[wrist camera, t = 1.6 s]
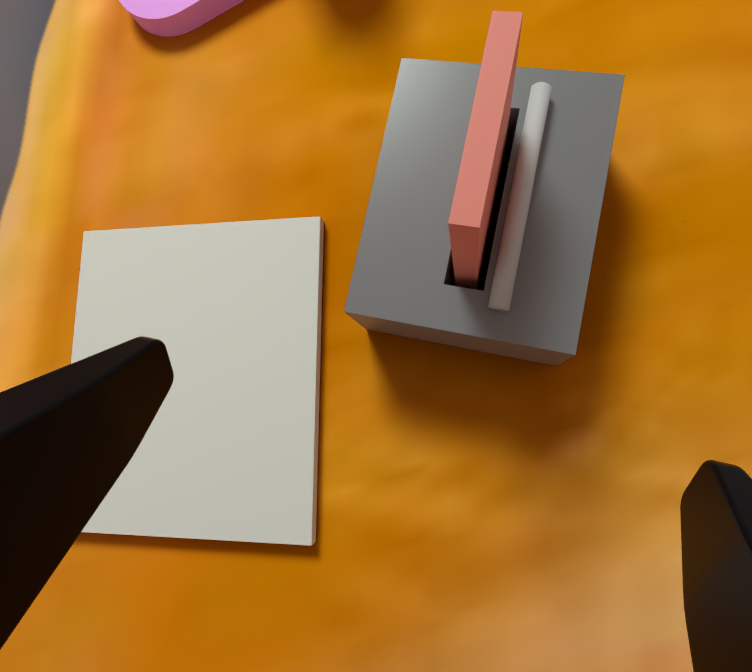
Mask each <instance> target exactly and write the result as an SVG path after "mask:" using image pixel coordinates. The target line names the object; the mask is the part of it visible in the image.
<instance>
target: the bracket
mask: <svg viewBox="0 0 752 672" xmlns="http://www.w3.org/2000/svg"><path fill="white" fill-rule="evenodd" d="M119 1H120V3H121V4H122V5H123V7H124V8H125V9H126V10H127V11H128V12H129V14H130V15H131V16H132V17H133V18H134V19H135V21H136V22H137V23H138V24H139V25H140V26H141V27H142V28H143V29H144V30H146V31H147V32H149V33H151V34H154V35H157V36H163V37H171V36H178V35H182V34H185V33H188V32H190V31H192V30H194V29H196V28H198V27H199V26H201V25H203V24H205V23H206V22H208V21H210V20H212V19H213V18H215V17H217V16H218V15H220V14H222V13H224V12H225V11H227V10H229V9H231V8H232V7H234V6H236V5H238V4H239V3H241V2H243V1H245V0H119Z"/></svg>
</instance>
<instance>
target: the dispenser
mask: <svg viewBox="0 0 752 672" xmlns="http://www.w3.org/2000/svg"><path fill="white" fill-rule="evenodd" d="M480 68H481V64H474V63H461V62H448V61H434V60H421V59H408V58H402V59H401V64H400V68H399V73H398V77H397V81H396V86H395V90H394V95H393V99H392V103H391V108H390V112H389V117H388V121H387V125H386V130H385V134H384V138H383V143H382V147H381V152H380V156H379V160H378V165H377V169H376V174H375V178H374V182H373V187H372V191H371V196H370V200H369V204H368V209H367V213H366V218H365V222H364V226H363V231H362V235H361V240H360V244H359V248H358V253H357V257H356V262H355V266H354V270H353V275H352V279H351V284H350V288H349V292H348V297H347V301H346V305H345V310H344V312H345V313H346V314H348V315H349V316H350V317H351V318H353V319H354V320H355V321H356V322H358V323H359V324H360V325H361V326H363V327H364V328H365V329H367V330H372V331H377V332H382V333H387V334H393V335H398V336H403V337H408V338H413V339H418V340H424V341H429V342H434V343H439V344H444V345H450V346H455V347H460V348H465V349H470V350H475V351H481V352H486V353H491V354H496V355H501V356H506V357H512V358H517V359H522V360H527V361H532V362H537V363H543V364H548V365H553V366H557V365H559V364H561V363H562V362H564V361H566V360H568V359H570V358H571V357H573V356H575V355H576V350H577V345H578V339H579V333H580V328H581V322H582V316H583V310H584V305H585V299H586V293H587V288H588V282H589V276H590V270H591V265H592V259H593V253H594V248H595V242H596V236H597V231H598V225H599V219H600V213H601V208H602V202H603V196H604V191H605V185H606V179H607V174H608V168H609V162H610V156H611V151H612V145H613V139H614V134H615V128H616V122H617V116H618V111H619V105H620V99H621V94H622V88H623V82H624V77H625V75H619V74H605V73H592V72H579V71H566V70H553V69H540V68H526V67H516V71H515V79H514V86H513V94H512V102H511V110H510V117H509V125H508V133H507V140H506V148H505V156H504V161H507V162H509V166H508V171H507V176H506V181H505V186H504V191H503V196H502V201H501V206H500V211H499V216H498V221H497V226H496V231H495V236H494V241H493V247H492V252H491V257H490V262H489V267H488V272H487V277H486V282H485V287H484V291H481V290H475V289H469V288H463V287H457V286H453V283H454V278H455V275H454V267H453V259H452V251H451V242H450V234H449V226H448V222H449V217H450V212H451V207H452V203H453V198H454V193H455V188H456V183H457V179H458V174H459V169H460V164H461V159H462V155H463V150H464V145H465V140H466V135H467V131H468V126H469V121H470V116H471V112H472V107H473V102H474V97H475V92H476V88H477V83H478V78H479V73H480Z"/></svg>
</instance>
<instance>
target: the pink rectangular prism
mask: <svg viewBox="0 0 752 672" xmlns="http://www.w3.org/2000/svg"><path fill="white" fill-rule="evenodd" d="M522 17H523V12H509V11H492V16H491V21H490V25H489V30H488V35H487V40H486V44H485V49H484V54H483V59H482V64H481V68H480V73H479V78H478V83H477V88H476V92H475V97H474V102H473V107H472V112H471V116H470V121H469V126H468V131H467V135H466V140H465V145H464V150H463V155H462V159H461V164H460V169H459V174H458V179H457V183H456V188H455V193H454V198H453V203H452V207H451V212H450V217H449V222H448V226H449V234H450V242H451V251H452V259H453V267H454V275H455V284H456V286H457V287H463V288H469V289H475V290H479V286H480V281H481V276H482V271H483V266H484V261H485V256H486V251H487V246H488V241H489V236H490V231H491V226H492V221H493V216H494V211H495V206H496V201H497V196H498V191H499V186H500V181H501V176H502V171H503V164H504V156H505V148H506V140H507V133H508V125H509V117H510V110H511V102H512V94H513V86H514V79H515V71H516V63H517V55H518V48H519V40H520V32H521V25H522Z"/></svg>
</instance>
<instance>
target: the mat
mask: <svg viewBox="0 0 752 672" xmlns="http://www.w3.org/2000/svg"><path fill="white" fill-rule="evenodd" d="M323 237H324V221H323V220H322V218H321V217H320V216H319V217H303V218H288V219H272V220H256V221H240V222H225V223H209V224H193V225H177V226H162V227H146V228H130V229H114V230H99V231H84V236H83V246H82V256H81V266H80V276H79V287H78V297H77V307H76V317H75V328H74V338H73V348H72V358H71V364H72V363H74V362H77V361H79V360H82V359H84V358H87V357H89V356H92V355H94V354H97V353H99V352H102V351H104V350H107V349H109V348H111V347H114V346H116V345H119V344H121V343H124V342H126V341H129V340H131V339H134V338H136V337H140V336H145V337H150V338H154V339H159V340H161V341H162V342H163V343H164V344H165V346H166V349H167V352H168V355H169V359H170V362H171V366H172V369H173V373H174V379H173V384H172V386H171V388H170V390H169V392H168V394H167V396H166V398H165V399H164V401H163V403H162V405H161V407H160V409H159V410H158V412H157V414H156V416H155V418H154V420H153V421H152V423H151V425H150V427H149V429H148V430H147V432H146V434H145V436H144V438H143V440H142V441H141V443H140V445H139V447H138V448H137V450H136V452H135V454H134V455H133V457H132V458H131V460H130V461H129V463H128V464H127V466H126V468H125V469H124V470H123V472H122V473H121V475H120V476H119V478H118V479H117V481H116V482H115V484H114V485H113V486H112V488H111V489H110V491H109V492H108V494H107V495H106V497H105V498H104V500H103V501H102V502H101V504H100V505H99V507H98V508H97V510H96V511H95V513H94V514H93V516H92V517H91V518H90V520H89V521H88V523H87V524H86V526H85V527H84V529H83V530H82V532H88V533H105V534H123V535H140V536H157V537H174V538H191V539H208V540H225V541H242V542H259V543H277V544H294V545H313V544H314V543H315V542H316V516H317V476H318V436H319V396H320V357H321V317H322V277H323Z"/></svg>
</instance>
